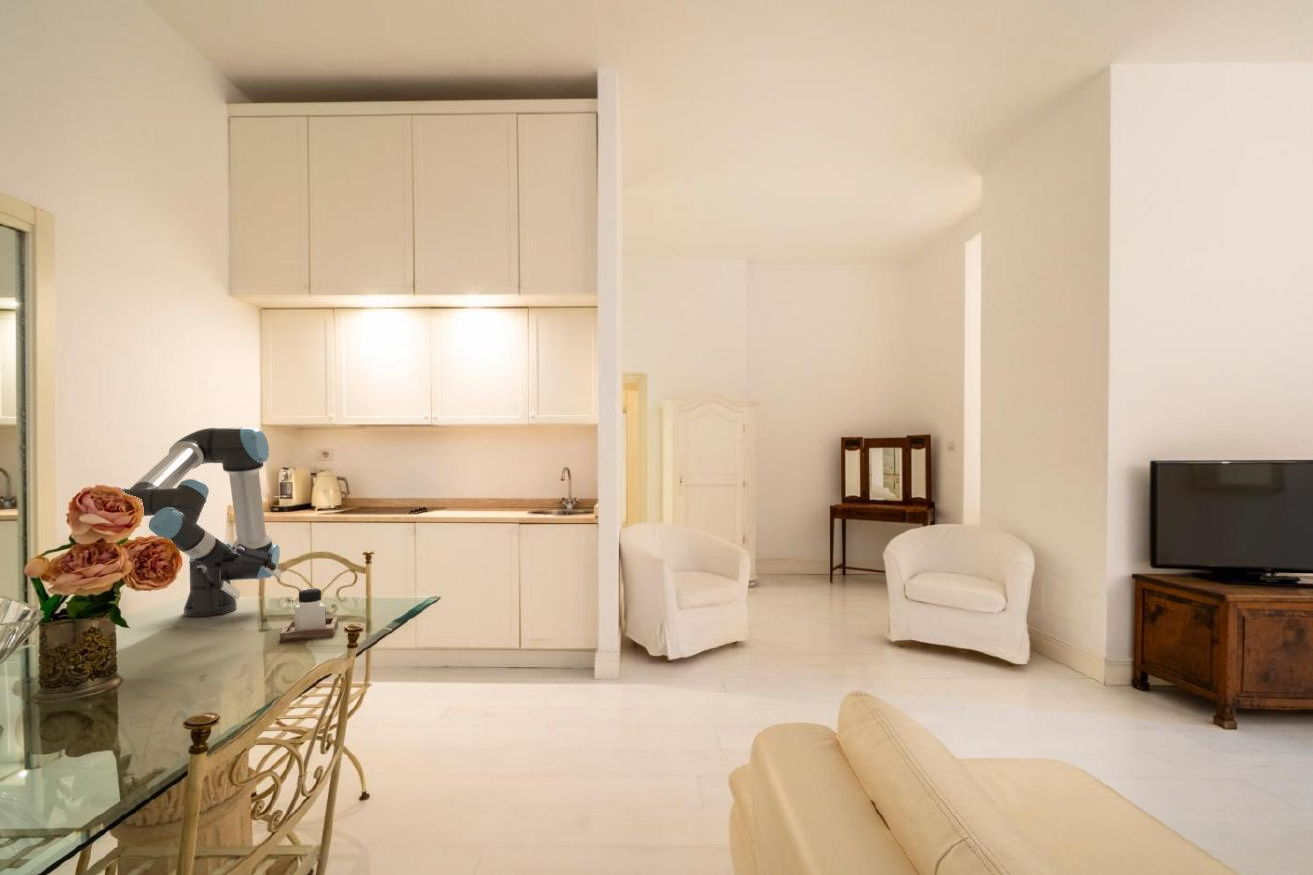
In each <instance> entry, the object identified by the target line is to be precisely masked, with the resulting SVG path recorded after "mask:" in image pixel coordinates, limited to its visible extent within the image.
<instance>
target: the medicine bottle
mask: <svg viewBox="0 0 1313 875" xmlns="http://www.w3.org/2000/svg"><path fill="white" fill-rule="evenodd" d="M326 610H327V608H326V605H325V604H323V603H322V590H321V589H319V588H317V587H316V588H305V589H301V590H300V591H299V592H298V604H296V605H295V606H294V621H295V629H296V630H297V631H300V630H310V629H320V628H326V618H327V611H326Z"/></svg>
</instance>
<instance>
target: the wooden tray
mask: <svg viewBox="0 0 1313 875" xmlns="http://www.w3.org/2000/svg"><path fill="white" fill-rule="evenodd" d="M338 626H339V616H329V617H326V628H320V629H310V630H300V631H297V630H296V629H295V620H289V621H287V622H286V623H285V625H284V627H283V628H282V629H281V631H280V633H279V643H284V642H285V643H286V642H294V641H302V640H303V641H304V640H314V639H324V638H331V637H332V638H333V637H334V636H335V633H336V631H337V628H338Z"/></svg>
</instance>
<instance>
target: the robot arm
mask: <svg viewBox="0 0 1313 875" xmlns="http://www.w3.org/2000/svg"><path fill="white" fill-rule="evenodd" d="M269 452H270V447H269V442H268V439H267V437H266V434H265V433H264V432H263V431H262V430H260V429H258V428H257V427H256V428H255V427H253V428H252V427H220V428H217V427H209V428H203V429H198V430H196V431H194V432H192V433H189V434H187V435H185V436H183V437H182V438H180V439H179V440H177V441H176V442H175V443H173V444H172V446H170V448H169V450H168V454H167V455H166V456H165V457H163V458H162V459H161V460H160V461H159V462H158V463H157V464H155V465H154V466H153V467H152V468H151V469H150V470H149V471H147V473H146V474H145V475H143V476H142V477H141V478H140V479H139V480H138V481H136V483H135V484H133V485H132V486H131V487H130V488H122V489H121V488H120V489H121V490H122V491H123V492H125V493H127V494H130V495H133V496H136V497H138V498H140V499H142V502H143V506H144V516H143V517H147V516H148V517H150V516H151V518H150V520H149V521H148V529H149V531H151V532H152V533H153V534H154V535H156V537H158V538H159V537H164V538H169V539H171V540H172V541H173V543H174V544H175V545H176V547H175V549H177V550H179V551H181V552H183V553H184V554H185V555H187V556H188V557H189V561H188V564H189V593H188V596H187V599H186V602H185V604H184V607H183V616H185V617H187V618H188V617H189V618H203V617H205V618H206V617H213V616H219V615H223V614H227V613H231V612H233V611H235V610H236V609H238V606H237V604H238V603H237V600H238V599H240V593H241V590H239V589H238V588H236V587H234V586H233V585H231V581H240V580H261V579H269V578H271V577H275V578H276V579H277V580H279V579H281V577H282V571H281V570H280V569H279V568H278V566H279V561H280V553H281V552H280V551H281V550H280V547H279V545H278V544H276V543H273V542H272V541H273V539H272V537H271V536H268V535H267V533H266V532H267V531H266V524H265V523H266V521H265V513H264V505H263V496H262V487H261V486H262V485H261V478H260V470H261V469H262V468H263V467H264V463H265V462H267V461H268V459H269V455H270V453H269ZM205 464H221V465H222V470H223V471H224V472H225V473H227V474H228V476H229V484H230V490H231V493H230V494H231V500H232V501H231V502H232V507H233V516H234V524H235V532H236V539H235V541H234V542H233V543H232V544H231V543H230V541H223V542H222V541H221V540H219V539H218V538H216V537H215V535H213V534H212V533H210V532H208V531H207V530H206V529H204V528H203V527H202V526H200V525H199V524H197V523H198V521H199V519H200V518H199V517H200V516H201V513H202V511H203V508H204V506H205V504H206V503H207V499H208V495H209V491H210V489H209V488H208V485H207V484H205V482H202V481H201V480H198V479H194V478H193V479H192V478H191V479H190V478H189V479H185V480H183V478H184V477H185V476H186V475H187V474H188V473H190V471H191V470H193V469H197V468H198V467H200V466H201V465H205ZM181 480H182V481H181ZM177 484H178V485H177ZM176 485H177V486H176Z"/></svg>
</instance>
